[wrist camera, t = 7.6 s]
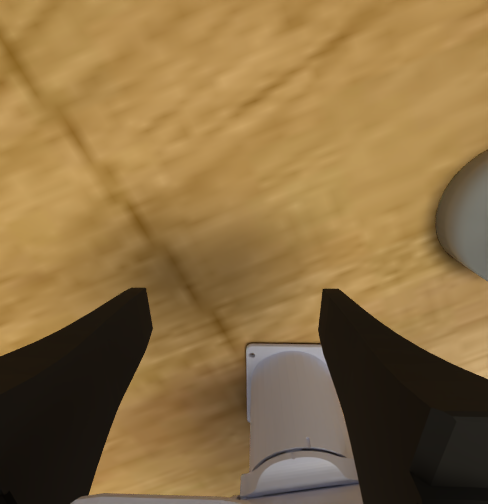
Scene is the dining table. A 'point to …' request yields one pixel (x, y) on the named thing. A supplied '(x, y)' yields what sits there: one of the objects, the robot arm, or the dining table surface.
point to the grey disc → (466, 216)
